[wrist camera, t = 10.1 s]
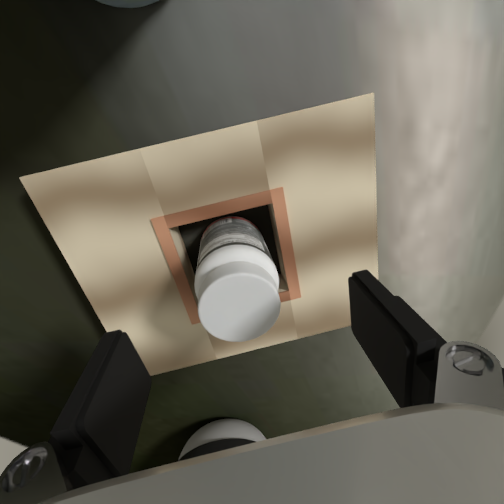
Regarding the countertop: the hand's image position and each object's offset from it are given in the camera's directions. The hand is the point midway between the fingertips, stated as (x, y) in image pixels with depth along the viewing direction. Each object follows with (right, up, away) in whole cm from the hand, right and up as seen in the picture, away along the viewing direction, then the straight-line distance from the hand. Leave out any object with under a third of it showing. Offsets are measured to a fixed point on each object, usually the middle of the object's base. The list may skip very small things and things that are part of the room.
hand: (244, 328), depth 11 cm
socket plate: (-1, +4, +9) cm, 10 cm away
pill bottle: (-1, +4, +9) cm, 10 cm away
